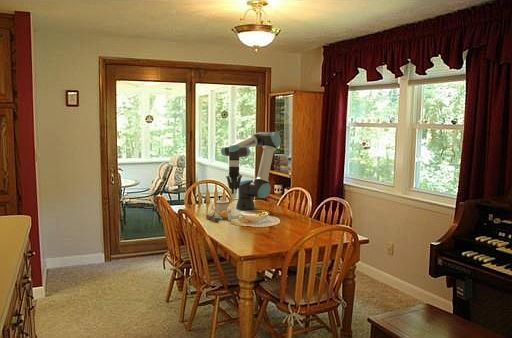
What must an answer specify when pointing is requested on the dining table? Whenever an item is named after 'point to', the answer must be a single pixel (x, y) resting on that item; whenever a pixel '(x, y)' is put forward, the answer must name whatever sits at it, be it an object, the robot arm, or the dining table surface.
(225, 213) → the ball
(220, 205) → the teacup with lid
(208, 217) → the back wall
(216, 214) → the pin
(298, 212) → the dining table surface
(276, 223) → the dining table surface
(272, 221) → the dining table surface
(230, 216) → the pin
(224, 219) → the lane mark
